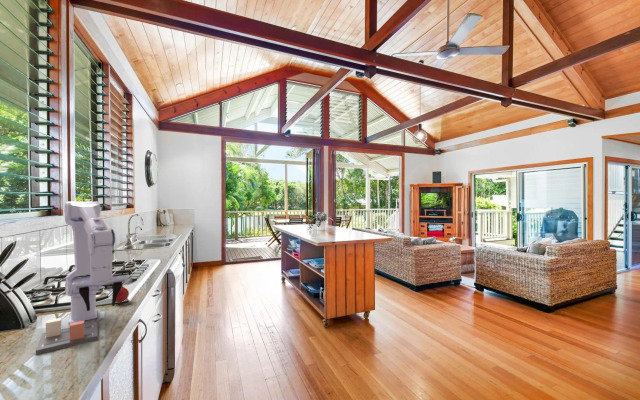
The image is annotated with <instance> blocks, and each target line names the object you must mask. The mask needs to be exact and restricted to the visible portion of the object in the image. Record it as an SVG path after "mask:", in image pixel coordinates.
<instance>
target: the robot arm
mask: <svg viewBox="0 0 640 400" xmlns="http://www.w3.org/2000/svg"><path fill="white" fill-rule="evenodd" d="M63 209H64V223H65V224H66V225H68V226H71V229H72V235H73V252H74V254H73V255H74V269H73V270H72V271H71V272H69V273H68V274H67V275H66V276H65V283H64V291H65V295H66V296H67V297H70V314H69V319H68V324H70V323H73V322H78V321H83V320H84V321H89V320H93V319H97V318H98V309H97V308H96V305H97V304H96V302H97V301H96V300H97V299H96V297H97V296H96V295H97V293H98V291H99V290H100V289H101V287H102V286H107V285H108V286H109V285H112V294H113V296H111V306H112V307H115V306H116V303H117V302H116V298H117V295H118V293H119V291H120V289H121V287H122V285H123V283H129V276H128V275H119V276H118V275H117V276H113V247H114V246H115V245H116V233H115V230H114V228H108V226H107V224H106V223H105V221H104V220H103V219H102V218H99V216H101V212H102V211H101V209H102V208H101V204H100V203H99V201H97V200H96V201H67V202H66V203H65V205H64V208H63Z"/></svg>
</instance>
